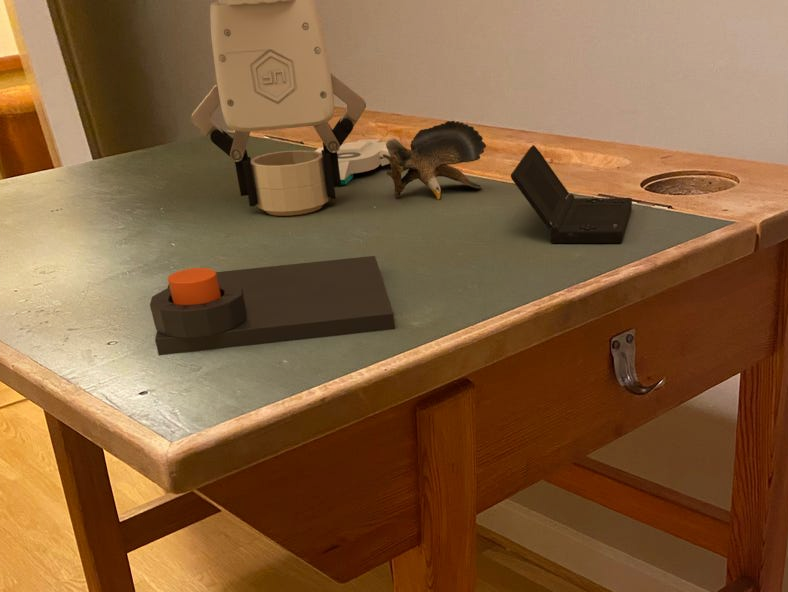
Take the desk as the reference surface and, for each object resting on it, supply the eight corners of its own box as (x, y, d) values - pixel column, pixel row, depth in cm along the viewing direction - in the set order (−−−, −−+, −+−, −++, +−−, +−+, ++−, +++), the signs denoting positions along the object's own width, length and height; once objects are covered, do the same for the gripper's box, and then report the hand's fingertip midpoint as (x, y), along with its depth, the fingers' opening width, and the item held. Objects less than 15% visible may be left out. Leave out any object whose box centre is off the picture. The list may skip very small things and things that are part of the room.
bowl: (258, 220, 96) (250, 169, 93) (258, 203, 101) (250, 154, 98) (330, 213, 96) (324, 162, 94) (327, 196, 102) (320, 147, 99)
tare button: (172, 311, 68) (165, 284, 66) (175, 296, 70) (169, 270, 69) (220, 305, 68) (215, 279, 67) (222, 291, 70) (216, 265, 69)
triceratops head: (408, 198, 95) (496, 166, 96) (379, 123, 94) (467, 92, 95) (401, 226, 102) (482, 197, 103) (373, 157, 101) (455, 128, 103)
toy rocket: (330, 153, 118) (327, 132, 117) (412, 151, 117) (410, 129, 116) (290, 187, 106) (287, 163, 104) (381, 185, 104) (379, 161, 103)
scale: (157, 359, 68) (146, 315, 66) (172, 292, 79) (163, 252, 78) (395, 333, 69) (391, 288, 68) (376, 270, 81) (372, 231, 79)
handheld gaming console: (648, 220, 82) (572, 114, 79) (578, 279, 85) (501, 180, 82) (636, 205, 93) (568, 111, 89) (574, 259, 95) (505, 169, 92)
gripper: (153, -9, 84) (200, 218, 94) (363, -24, 86) (385, 200, 96) (160, -15, 90) (203, 199, 100) (356, -29, 91) (378, 182, 102)
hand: (292, 197), depth 98 cm, fingers closed on bowl, 6 cm apart
